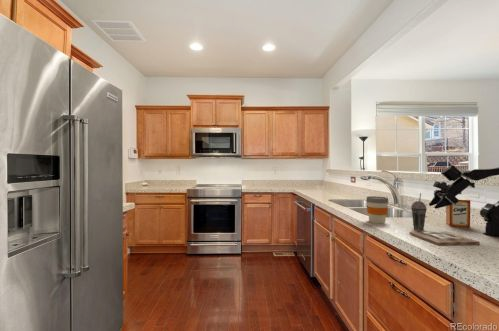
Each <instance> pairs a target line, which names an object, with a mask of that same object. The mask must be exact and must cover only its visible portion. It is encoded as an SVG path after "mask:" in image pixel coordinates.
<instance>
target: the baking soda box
mask: <svg viewBox="0 0 499 331" xmlns="http://www.w3.org/2000/svg"><path fill="white" fill-rule="evenodd" d="M456 198H457V199H458V203H456V204H453V203H452V204H453V205H449V206H445V212H446V213H445V223H446V224H447V225H448V226H449V227H456V228H457V227H458V228H468V227H470V228H471V200H470V199H468V198H459V197H456Z"/></svg>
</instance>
